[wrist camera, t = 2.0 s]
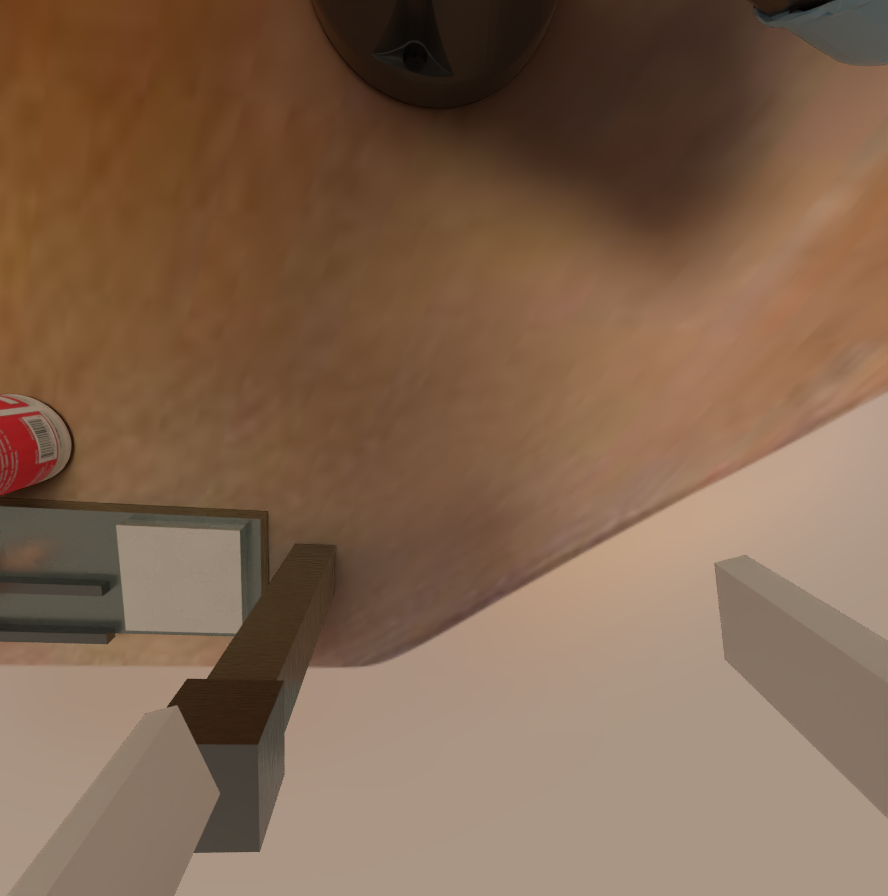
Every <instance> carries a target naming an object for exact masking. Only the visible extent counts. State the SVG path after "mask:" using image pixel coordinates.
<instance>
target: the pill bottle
mask: <svg viewBox="0 0 888 896" xmlns="http://www.w3.org/2000/svg"><path fill="white" fill-rule="evenodd" d="M71 446H72V445H71V438H70V434H69V432H68V429H67V427H66V425H65V424H64V422H63V420H62V419H61V418H60V417H59V415H58V414H57V413H56V412H54V411H53V410H52V409H51V408H50V407H48V406H47V405H45V404H44V403H42V402H40V401H38V400H36V399H33V398H30V397H27V396H23V395H16V394H5V395H0V496H1V495H4V494H7V493H10V492H13V491H16V490H19V489H22V488H25V487H28V486H31V485H33V484H36V483H39V482H42V481H44V480H47V479H49V478H51V477H53V476H55V475H56V474H57V473H59V472H60V471H61V470H62V469H63V468H64V466H65V465H66V463H67V462H68V460H69V457H70V454H71Z"/></svg>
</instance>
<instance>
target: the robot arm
mask: <svg viewBox="0 0 888 896" xmlns="http://www.w3.org/2000/svg"><path fill="white" fill-rule="evenodd" d="M558 1H559V0H312V3H313V6H314V9H315V11H316V14H317V16H318V18H319V21H320V23H321V25H322V27H323V29H324V31H325V32H326V34H327V36H328V38H329V39H330V41H331V42H332V44H333V45H334V47H335V48H336V50H337V51H338V52H339V54H340V55H341V56H342V58H343V59H344V60H345V61H346V62H347V63H348V65H349V66H350V67H351V68H352V69H353V70H354V71H355V72H356V73H357V74H358V75H360V76H361V77H362V78H363V79H364V80H365V81H367V82H368V83H369V84H371V85H372V86H373V87H375V88H376V89H378V90H380V91H381V92H383V93H385V94H387V95H389V96H391V97H393V98H395V99H397V100H400V101H403V102H406V103H409V104H413V105H417V106H422V107H431V108H447V107H456V106H461V105H465V104H469V103H472V102H475V101H478V100H480V99H482V98H484V97H487V96H488V95H490V94H492V93H494V92H495V91H497V90H498V89H500V88H501V87H503V86H504V85H505V84H507V83H508V82H509V81H510V80H511V79H513V78H514V77H515V76H516V75H517V74H518V73H519V72H520V71H521V69H522V68H523V67H524V66H525V65H526V64H527V62H528V61H529V60H530V58H531V57H532V56H533V54H534V53H535V51H536V50H537V48H538V46H539V44H540V43H541V41H542V39H543V37H544V35H545V33H546V31H547V28H548V26H549V23H550V21H551V18H552V16H553V13H554V11H555V8H556V6H557V3H558ZM748 1H749V2H750V3H751V4H753V5H754V9H753V15H754V16H755V17H756V18H757V19H758V20H759V22H761V23H762V24H764V25H766V26H769V27H772V28H783V27H784V28H786V29H787V30H789V31H790V32H792V33H794V34H795V35H797V36H798V37H800V38H801V39H803V40H804V41H806V42H807V43H809V44H811V45H812V46H814V47H815V48H817V49H818V50H820V51H821V52H823V53H824V54H826V55H828V56H829V57H831V58H832V59H834V60H836V61H839V62H841V63H845V64H849V65H854V66H877V65H886V64H888V0H748ZM714 564H715V573H716V583H717V592H718V601H719V610H720V620H721V629H722V638H723V647H724V657H725V660H727V662H728V663H730V664H731V666H732V667H733V668H735V669H736V670H737V671H738V672H739V673H740V674H741V675H742V676H743V677H744V678H745V679H746V680H747V681H748V682H749V683H750V684H751V685H752V686H753V687H754V688H755V689H756V690H757V691H758V692H759V693H760V694H761V695H762V696H763V697H764V698H765V699H766V700H767V701H768V702H769V703H770V704H771V705H773V707H774V708H775V709H776V710H778V711H779V712H780V714H782V715H783V716H784V717H785V718H786V719H787V720H788V721H789V722H790V723H791V724H792V725H793V726H794V727H795V728H796V729H797V730H798V731H799V732H800V733H801V734H802V735H803V736H804V737H805V738H806V739H807V740H808V741H809V742H810V743H811V744H812V745H813V746H814V747H815V748H816V749H817V750H818V751H819V752H820V753H821V754H822V755H823V756H824V757H825V758H826V759H827V760H828V761H830V762H831V763H832V764H833V765H834V766H835V767H836V768H837V769H838V770H839V771H840V772H841V773H842V774H843V775H844V776H845V777H846V778H847V779H848V780H849V781H850V782H851V783H852V784H853V785H854V786H855V787H856V788H857V789H858V790H859V791H860V792H861V793H862V794H863V795H864V796H865V797H866V798H867V799H868V800H869V801H870V802H871V803H872V804H874V806H875V807H877V808H878V809H879V810H880V811H881V812H882V813H883V814H884V815H885V816H886V817H887V818H888V640H886V639H885V638H883V637H881V636H880V635H878V634H876V633H875V632H873V631H871V630H870V629H868V628H866V627H865V626H863V625H861V624H860V623H858V622H856V621H855V620H853V619H851V618H850V617H848V616H846V615H845V614H843V613H841V612H840V611H838V610H836V609H835V608H833V607H831V606H830V605H828V604H826V603H824V602H823V601H821V600H819V599H818V598H816V597H815V596H813V595H811V594H809V593H808V592H806V591H805V590H803V589H801V588H800V587H798V586H796V585H795V584H793V583H791V582H790V581H788V580H786V579H785V578H783V577H781V576H780V575H778V574H776V573H775V572H773V571H771V570H770V569H768V568H766V567H765V566H763V565H761V564H760V563H758V562H756V561H755V560H753V559H751V558H750V557H748V556H746V555H743V556H739V557H736V558H732V559H728V560H724V561H720V562H717V563H714ZM219 795H220V792H219V790H218V788H217V786H216V784H215V782H214V780H213V778H212V775H211V773H210V771H209V769H208V767H207V765H206V763H205V761H204V759H203V757H202V755H201V753H200V751H199V749H198V747H197V745H196V743H195V741H194V738H193V736H192V734H191V732H190V730H189V728H188V726H187V724H186V722H185V720H184V718H183V716H182V714H181V712H180V710H179V708H178V706H177V705H176V706H172V707H168V708H165V709H160V710H157V711H153V712H149V713H145V715H144V716H143V717H142V719H141V720H140V721H139V723H138V724H137V725H136V727H135V728H134V729H133V730H132V732H131V733H130V734H129V736H128V737H127V738H126V740H125V741H124V742H123V744H122V745H121V746H120V748H119V749H118V750H117V752H116V753H115V754H114V755H113V757H112V758H111V759H110V761H109V762H108V763H107V765H106V766H105V767H104V768H103V770H102V771H101V772H100V774H99V775H98V776H97V778H96V779H95V780H94V782H93V783H92V784H91V786H90V787H89V788H88V789H87V791H86V792H85V794H84V795H83V796H82V797H81V799H80V800H79V801H78V803H77V804H76V805H75V807H74V808H73V809H72V811H71V812H70V813H69V814H68V816H67V817H66V818H65V820H64V821H63V822H62V824H61V825H60V826H59V828H58V829H57V830H56V831H55V833H54V834H53V835H52V837H51V838H50V839H49V841H48V842H47V843H46V845H45V846H44V847H43V848H42V850H41V851H40V852H39V854H38V855H37V856H36V858H35V859H34V860H33V862H32V863H31V864H30V866H29V867H28V868H27V869H26V871H25V872H24V873H23V875H22V876H21V877H20V879H19V880H18V881H17V883H16V884H15V885H14V887H13V888H12V889H11V890H10V892H9V893H8V894H7V896H174V895H175V893H176V890H177V888H178V886H179V884H180V881H181V879H182V877H183V875H184V873H185V870H186V868H187V866H188V864H189V862H190V859H191V857H192V855H193V853H194V850H195V848H196V846H197V844H198V842H199V839H200V837H201V835H202V833H203V831H204V828H205V826H206V824H207V822H208V819H209V817H210V815H211V813H212V811H213V808H214V806H215V804H216V802H217V800H218V797H219Z"/></svg>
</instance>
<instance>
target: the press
mask: <svg viewBox="0 0 888 896" xmlns="http://www.w3.org/2000/svg"><path fill="white" fill-rule="evenodd" d="M334 575H335V545H313V544H295V545H294V546H293V548H292V549H291V551H290V552H289V554H288V555H287V557H286V559H285V560H284V562H283V563H282V565H281V566H280V568H279V569H278V571H277V572H276V574H275V575H274V577H273V578H272V580H271V581H270V583H269V579H268V511H251V510H231V509H211V508H191V507H172V506H152V505H132V504H112V503H93V502H73V501H53V500H33V499H14V498H0V641H2V642H43V643H84V644H108V643H109V642H110V641H111V640H112V639H113V638H114V637H115V633H131V634H168V635H206V636H234V638H233V639H232V641H231V643H230V644H229V646H228V647H227V649H226V650H225V652H224V653H223V655H222V656H221V658H220V659H219V661H218V662H217V664H216V665H215V667H214V668H213V670H212V672H211V673H210V675H209V676H208V678H207V679H187V680H186V681H185V682H184V684H183V685H182V687H181V688H180V690H179V691H178V692H177V694H176V695H175V697H174V698H173V699H172V701H171V702H170V703H169V705H168V706H167V708H168V707H172V706H176V705H177V706H178V708H179V710H180V712H181V714H182V716H183V718H184V720H185V722H186V724H187V726H188V728H189V730H190V732H191V734H192V736H193V738H194V741H195V743H196V745H197V747H198V749H199V751H200V753H201V755H202V757H203V759H204V761H205V763H206V765H207V767H208V769H209V771H210V773H211V775H212V778H213V780H214V782H215V784H216V786H217V788H218V790H219V792H220V795H219V797H218V800H217V802H216V804H215V806H214V808H213V811H212V813H211V815H210V817H209V819H208V822H207V824H206V826H205V828H204V831H203V833H202V835H201V837H200V839H199V842H198V844H197V846H196V848H195V850H194V853H208V852H210V853H211V852H260V849H261V846H262V843H263V840H264V837H265V834H266V831H267V828H268V824H269V821H270V818H271V815H272V812H273V809H274V806H275V802H276V799H277V796H278V793H279V790H280V787H281V783H282V780H283V777H284V733H285V730H286V727H287V725H288V722H289V719H290V716H291V713H292V710H293V707H294V705H295V702H296V699H297V696H298V693H299V690H300V688H301V685H302V682H303V679H304V676H305V673H306V671H307V668H308V665H309V662H310V659H311V656H312V654H313V651H314V648H315V645H316V642H317V639H318V637H319V634H320V631H321V628H322V625H323V622H324V620H325V617H326V614H327V611H328V608H329V605H330V603H331V600H332V597H333V594H334Z"/></svg>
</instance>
